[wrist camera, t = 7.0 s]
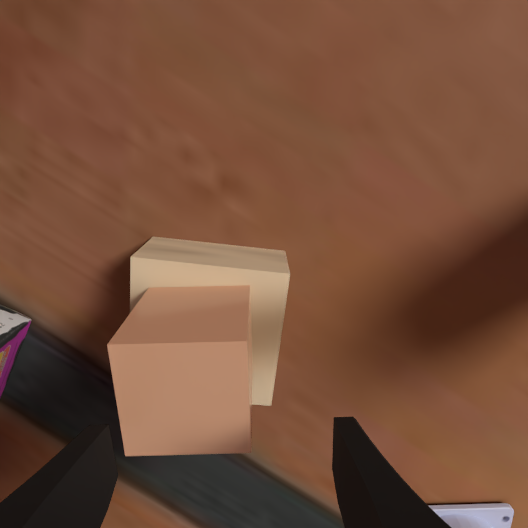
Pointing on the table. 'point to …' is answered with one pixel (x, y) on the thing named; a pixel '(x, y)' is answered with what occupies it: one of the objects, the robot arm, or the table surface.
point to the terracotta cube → (185, 372)
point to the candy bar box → (10, 340)
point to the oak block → (223, 274)
